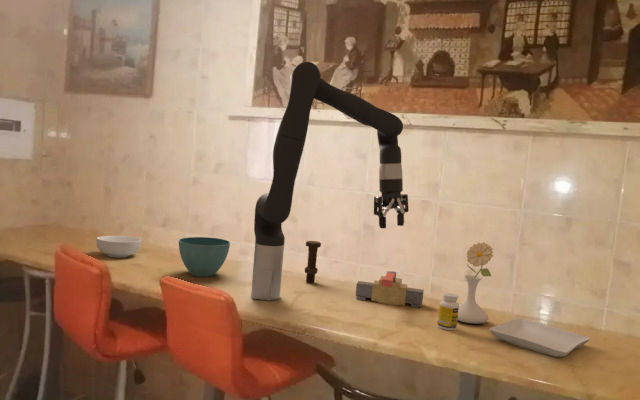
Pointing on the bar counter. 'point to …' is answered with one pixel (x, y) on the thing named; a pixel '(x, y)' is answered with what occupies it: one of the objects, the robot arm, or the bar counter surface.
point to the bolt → (312, 260)
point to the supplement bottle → (448, 312)
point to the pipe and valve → (389, 293)
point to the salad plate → (538, 337)
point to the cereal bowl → (118, 245)
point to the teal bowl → (203, 254)
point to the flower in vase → (475, 284)
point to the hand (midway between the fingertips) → (391, 226)
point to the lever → (389, 279)
